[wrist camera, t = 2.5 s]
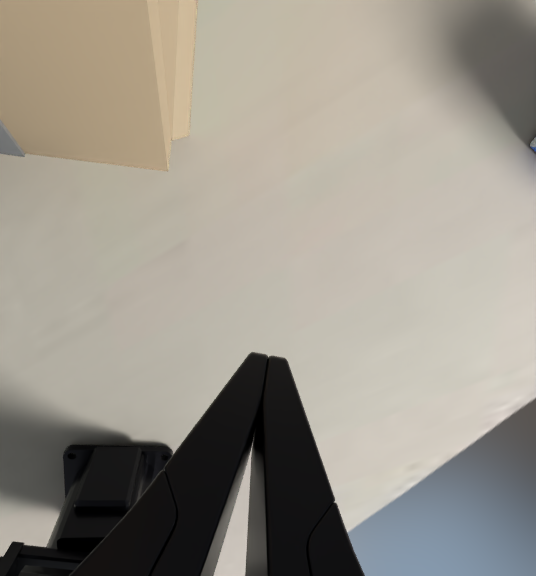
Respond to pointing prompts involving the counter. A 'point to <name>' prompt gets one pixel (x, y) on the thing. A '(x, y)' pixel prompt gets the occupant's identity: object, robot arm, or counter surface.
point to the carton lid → (84, 81)
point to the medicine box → (533, 144)
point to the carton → (178, 60)
